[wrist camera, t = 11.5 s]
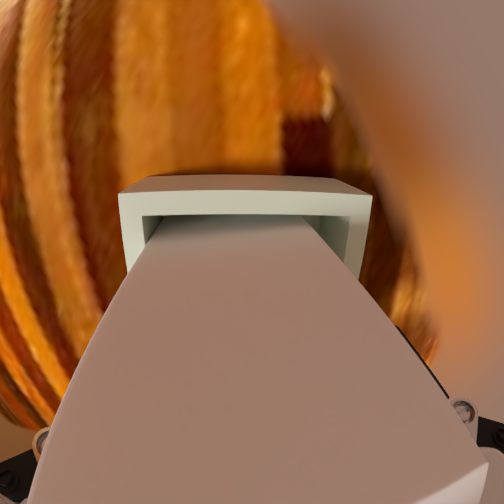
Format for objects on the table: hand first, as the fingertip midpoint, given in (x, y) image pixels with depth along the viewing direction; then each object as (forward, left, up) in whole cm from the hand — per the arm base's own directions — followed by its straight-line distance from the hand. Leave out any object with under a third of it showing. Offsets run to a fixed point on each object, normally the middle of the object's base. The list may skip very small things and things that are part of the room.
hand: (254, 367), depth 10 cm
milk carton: (0, 0, -8) cm, 8 cm away
